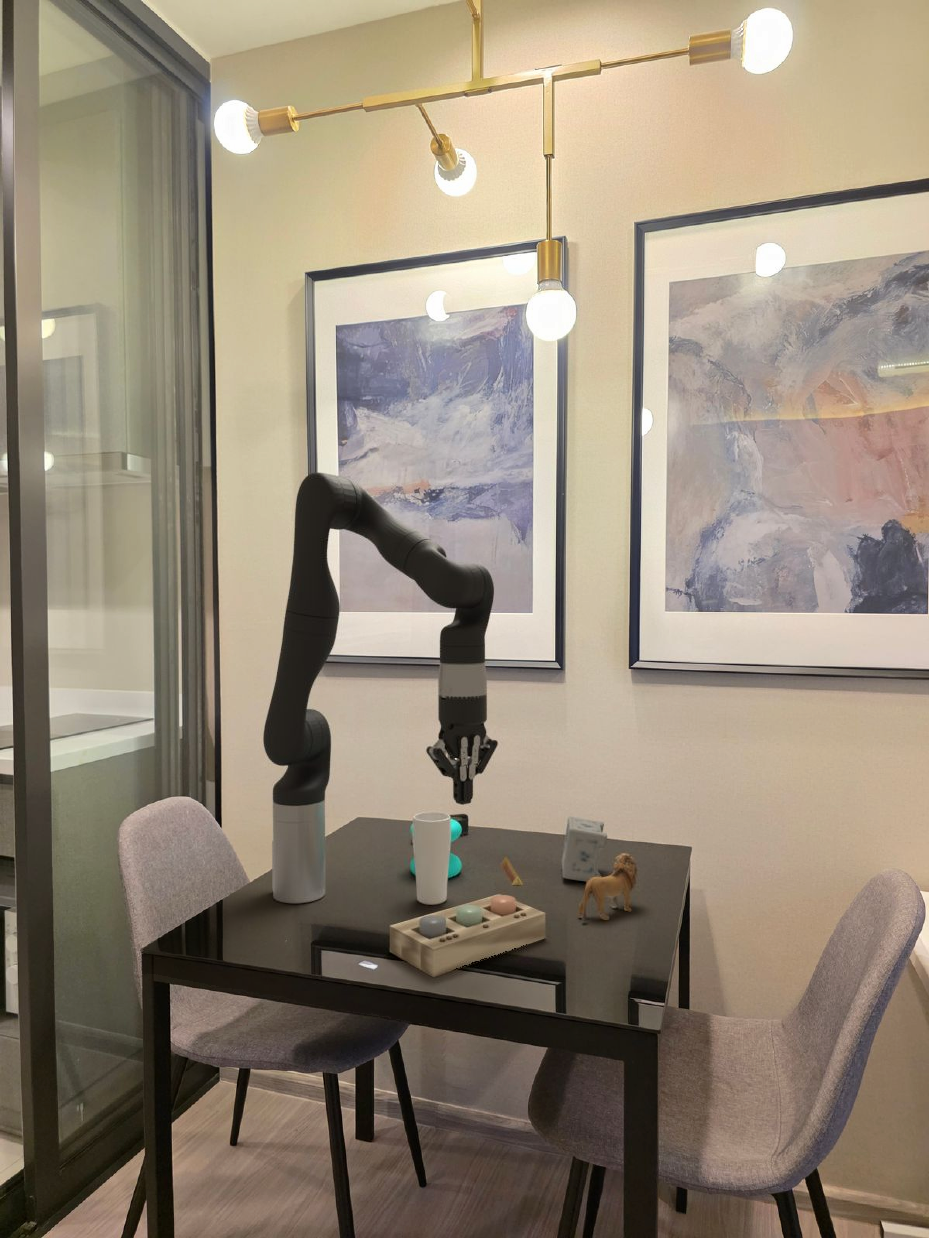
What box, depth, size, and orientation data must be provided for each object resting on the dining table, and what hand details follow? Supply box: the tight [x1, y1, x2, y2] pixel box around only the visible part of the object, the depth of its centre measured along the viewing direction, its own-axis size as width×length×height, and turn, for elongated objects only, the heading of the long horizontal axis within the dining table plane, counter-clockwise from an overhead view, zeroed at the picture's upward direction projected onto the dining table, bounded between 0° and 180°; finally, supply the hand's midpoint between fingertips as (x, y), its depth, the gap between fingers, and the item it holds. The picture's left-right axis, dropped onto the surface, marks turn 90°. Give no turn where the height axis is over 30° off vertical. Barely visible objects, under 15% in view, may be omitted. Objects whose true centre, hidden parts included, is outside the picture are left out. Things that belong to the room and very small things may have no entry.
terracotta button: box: [491, 894, 517, 917], centre depth 136 cm, size 4×4×3 cm
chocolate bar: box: [500, 856, 524, 886], centre depth 165 cm, size 3×12×2 cm, turn 8°
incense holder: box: [560, 816, 608, 883], centre depth 164 cm, size 10×8×10 cm
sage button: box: [456, 904, 482, 928], centre depth 131 cm, size 4×4×3 cm
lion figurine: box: [578, 852, 638, 923], centre depth 145 cm, size 15×5×9 cm, turn 137°
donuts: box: [409, 819, 463, 879], centre depth 166 cm, size 10×10×10 cm
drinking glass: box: [412, 811, 452, 906], centre depth 151 cm, size 7×7×15 cm
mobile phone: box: [410, 813, 469, 844], centre depth 190 cm, size 5×3×15 cm
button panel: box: [389, 893, 546, 978], centre depth 131 cm, size 11×22×4 cm, turn 129°
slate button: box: [419, 915, 446, 939], centre depth 127 cm, size 4×4×3 cm
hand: (463, 803), depth 132 cm, fingers closed
